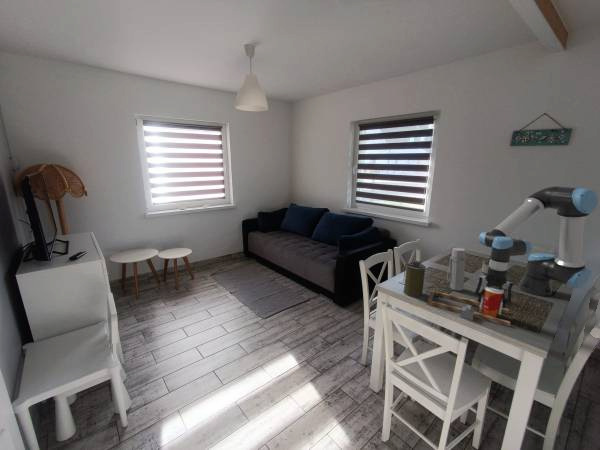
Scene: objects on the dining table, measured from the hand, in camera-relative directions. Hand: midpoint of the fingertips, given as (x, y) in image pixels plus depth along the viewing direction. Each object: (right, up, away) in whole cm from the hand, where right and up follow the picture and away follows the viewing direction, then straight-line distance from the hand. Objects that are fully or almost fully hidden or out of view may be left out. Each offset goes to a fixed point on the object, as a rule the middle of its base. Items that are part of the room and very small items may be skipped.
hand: (489, 310), depth 134 cm
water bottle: (-2, +4, +28) cm, 28 cm away
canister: (-30, +3, +22) cm, 37 cm away
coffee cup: (0, -2, 0) cm, 2 cm away
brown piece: (-8, -1, +6) cm, 9 cm away
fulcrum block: (-13, -3, -2) cm, 13 cm away
